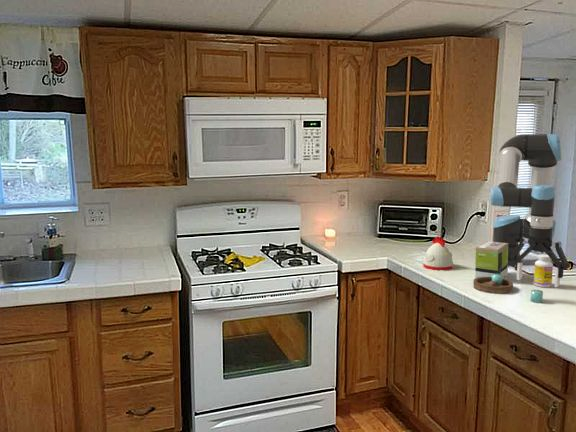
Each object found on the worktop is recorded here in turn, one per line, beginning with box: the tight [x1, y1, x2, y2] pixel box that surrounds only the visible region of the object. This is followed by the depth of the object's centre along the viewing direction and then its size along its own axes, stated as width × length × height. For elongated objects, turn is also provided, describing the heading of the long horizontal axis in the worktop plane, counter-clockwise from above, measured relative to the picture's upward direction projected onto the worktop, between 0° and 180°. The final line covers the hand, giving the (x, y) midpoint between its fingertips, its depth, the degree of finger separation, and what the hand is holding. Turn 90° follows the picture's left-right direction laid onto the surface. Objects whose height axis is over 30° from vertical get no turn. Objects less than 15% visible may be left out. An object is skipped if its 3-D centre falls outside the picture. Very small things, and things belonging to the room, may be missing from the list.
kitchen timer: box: [422, 235, 454, 271], centre depth 235 cm, size 14×14×15 cm
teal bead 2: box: [530, 289, 544, 304], centre depth 185 cm, size 4×4×4 cm
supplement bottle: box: [533, 253, 554, 288], centre depth 203 cm, size 7×7×13 cm
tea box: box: [474, 240, 509, 279], centre depth 217 cm, size 15×10×15 cm, turn 141°
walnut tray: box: [473, 277, 514, 295], centre depth 202 cm, size 15×15×3 cm
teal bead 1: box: [492, 274, 502, 286], centre depth 204 cm, size 4×4×4 cm
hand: (537, 282), depth 184 cm, fingers open, 13 cm apart
